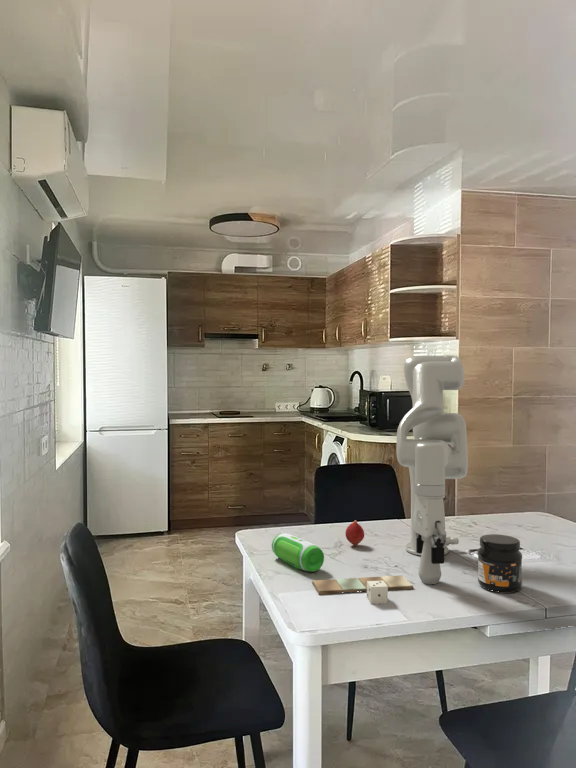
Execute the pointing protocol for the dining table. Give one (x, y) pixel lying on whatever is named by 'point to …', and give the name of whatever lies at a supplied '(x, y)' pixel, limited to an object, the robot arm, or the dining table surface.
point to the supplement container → (500, 563)
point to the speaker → (298, 552)
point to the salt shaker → (428, 564)
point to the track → (359, 584)
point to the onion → (354, 533)
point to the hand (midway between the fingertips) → (429, 557)
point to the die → (377, 592)
